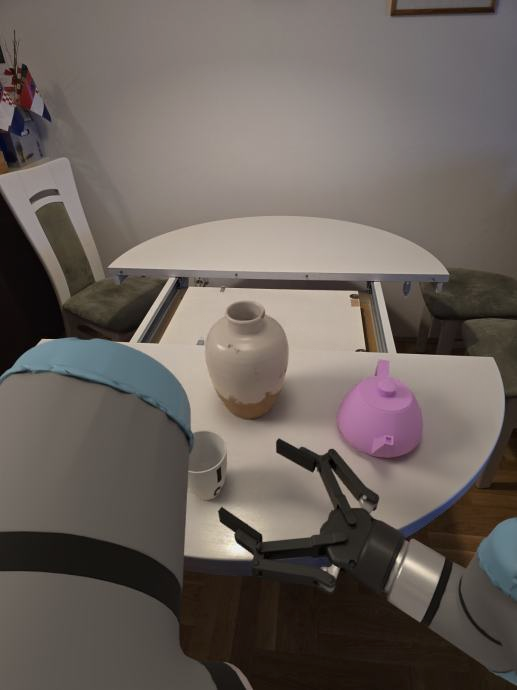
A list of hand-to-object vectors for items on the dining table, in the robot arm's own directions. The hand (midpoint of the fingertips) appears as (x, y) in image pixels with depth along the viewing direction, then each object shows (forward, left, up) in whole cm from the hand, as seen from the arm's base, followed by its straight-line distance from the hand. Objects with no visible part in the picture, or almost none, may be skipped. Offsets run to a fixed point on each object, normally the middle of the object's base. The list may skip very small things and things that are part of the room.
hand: (250, 477), depth 58 cm
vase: (+15, +20, -11) cm, 28 cm away
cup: (-3, +9, -11) cm, 15 cm away
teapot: (+29, -2, -11) cm, 32 cm away
